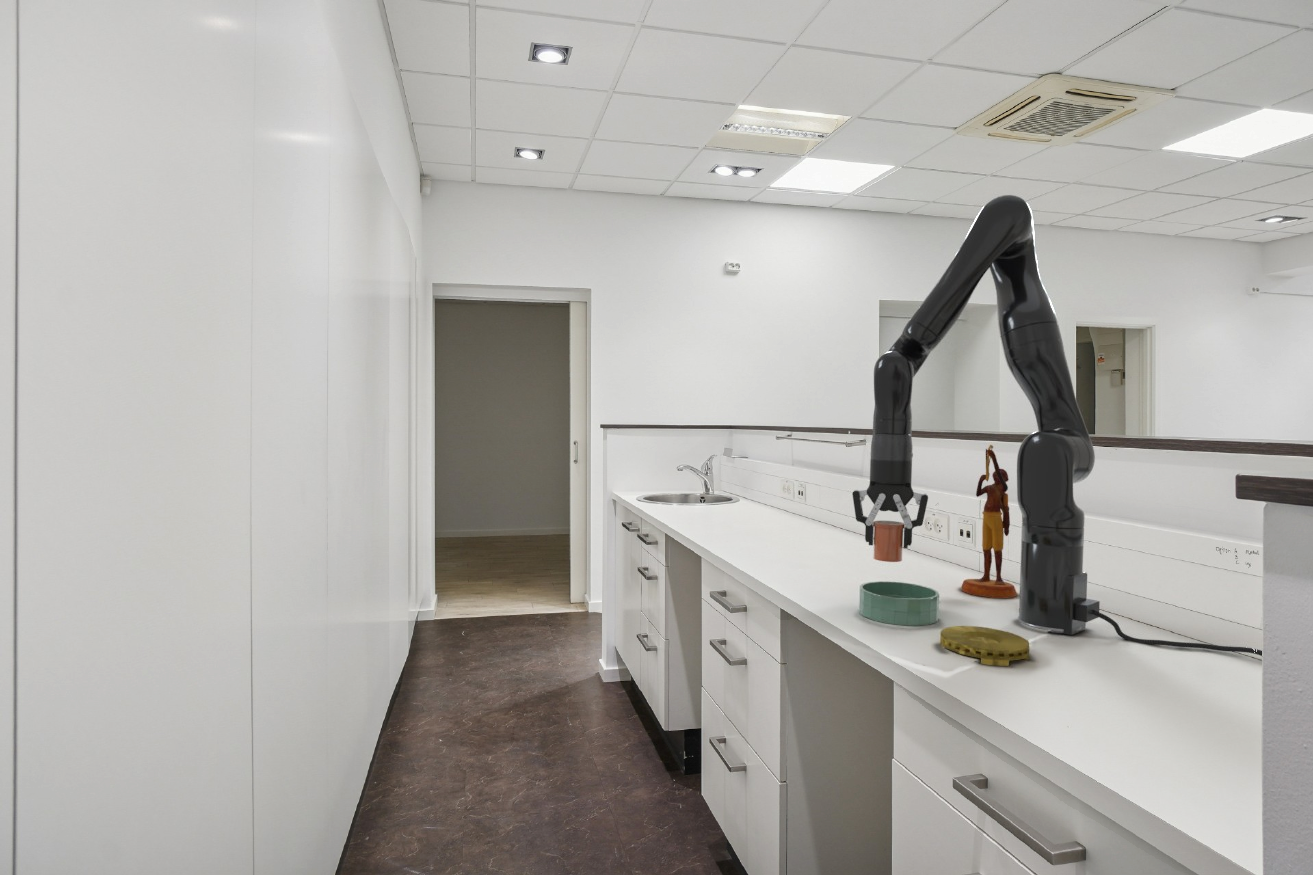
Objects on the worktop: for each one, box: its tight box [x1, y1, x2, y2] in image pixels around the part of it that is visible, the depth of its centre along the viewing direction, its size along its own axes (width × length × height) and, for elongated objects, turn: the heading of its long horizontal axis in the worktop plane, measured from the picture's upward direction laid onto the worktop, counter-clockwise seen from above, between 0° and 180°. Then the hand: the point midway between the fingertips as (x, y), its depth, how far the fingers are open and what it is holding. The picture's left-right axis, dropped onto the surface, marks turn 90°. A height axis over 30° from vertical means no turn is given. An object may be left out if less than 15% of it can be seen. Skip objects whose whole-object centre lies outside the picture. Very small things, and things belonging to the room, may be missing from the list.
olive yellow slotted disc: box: [939, 625, 1030, 667], centre depth 107 cm, size 12×12×2 cm
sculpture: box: [960, 444, 1018, 599], centre depth 145 cm, size 10×10×30 cm
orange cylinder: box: [872, 520, 905, 563], centre depth 136 cm, size 6×6×7 cm
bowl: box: [858, 580, 940, 627], centre depth 124 cm, size 13×13×5 cm
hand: (888, 545), depth 136 cm, fingers closed on orange cylinder, 5 cm apart
